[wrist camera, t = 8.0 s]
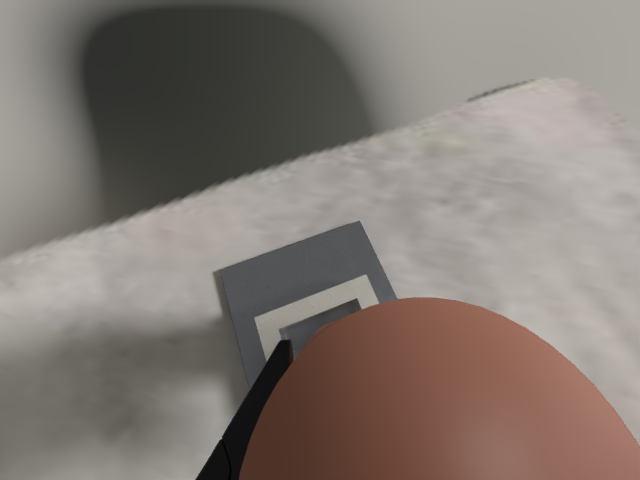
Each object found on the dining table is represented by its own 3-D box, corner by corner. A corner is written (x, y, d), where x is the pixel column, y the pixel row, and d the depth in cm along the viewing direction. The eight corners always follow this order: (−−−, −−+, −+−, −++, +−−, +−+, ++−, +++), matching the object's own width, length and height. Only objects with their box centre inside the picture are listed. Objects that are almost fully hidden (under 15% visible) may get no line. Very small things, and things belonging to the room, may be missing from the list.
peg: (372, 410, 14) (814, 1093, 1) (296, 392, 14) (145, 846, 2) (380, 329, 15) (639, 337, 3) (312, 315, 15) (291, 267, 3)
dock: (465, 449, 18) (504, 481, 15) (291, 540, 16) (283, 604, 13) (358, 223, 25) (365, 205, 21) (223, 272, 23) (204, 261, 19)
